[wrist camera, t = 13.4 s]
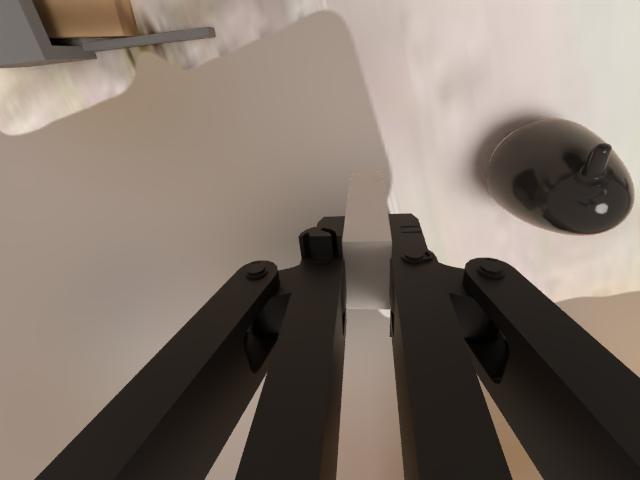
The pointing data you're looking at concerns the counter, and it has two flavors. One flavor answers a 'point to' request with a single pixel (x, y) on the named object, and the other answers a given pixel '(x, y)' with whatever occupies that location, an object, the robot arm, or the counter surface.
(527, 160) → the pump dispenser
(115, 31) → the oak board
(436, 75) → the counter surface
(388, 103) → the counter surface
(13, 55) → the grey u-channel bracket
